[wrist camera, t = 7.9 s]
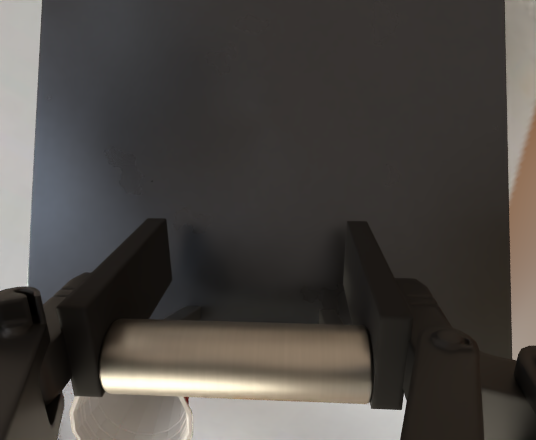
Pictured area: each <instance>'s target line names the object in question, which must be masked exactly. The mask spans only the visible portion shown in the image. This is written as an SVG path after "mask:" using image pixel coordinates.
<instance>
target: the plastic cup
mask: <svg viewBox="0 0 536 440" xmlns="http://www.w3.org/2000/svg"><path fill="white" fill-rule="evenodd" d="M188 399H189V397H178V396H153V395H128V394H109V393H107V392H105V393H104V395H103V397H85V396H75V398H74V401H73V404H72V406H71V409H70V411H69V413H70V420H71V428H72V432H73V434H74V435H75V437H76V438H77V440H190V439H191V437H192V435H193V420H192V411H191V409H190V407H189V405H188Z"/></svg>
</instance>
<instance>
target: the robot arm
mask: <svg viewBox="0 0 536 440" xmlns="http://www.w3.org/2000/svg"><path fill="white" fill-rule="evenodd" d="M171 282H172V271H171V261H170V250H169V240H168V230H167V220H166V218H147V219H146V220H145V221H144V222H143V223H142V224H141V225H140V226H139V227H138V228H137V229H136V230H135V231H134V232H133V233H132V234H131V235H130V236H129V237H128V238H127V239H126V240H125V241H124V242H123V243H122V244H121V245H120V246H118V247H117V248H116V249H115V250H114V251H113V252H112V253H111V254H110V255H109V256H108V257H107V258H106V259H105V260H104V261H103V262H102V263H101V264H100V265H99V266H98V267H97V268H96V269H95V270H94V271H93V272H84V273H82V274H81V275H79V276H77V277H75V278H73V279H71V280H70V281H69V282H67V283H66V284H65V285H64V286H63V287H62V288H61V290H59V291H58V292H56V293H55V294H54V297H51V298H50V299H49V300H48V301H47V302H45V303H44V304H43V303H42V299H41V294H40V291H39V290H38V289H36V288H34V287H28V286H27V287H15V288H10V289H5V290H2V291H0V440H57V437H58V432H59V427H60V423H61V418H62V414H63V409H64V397H63V393H62V390H63V388H64V387H65V386H66V384H67V383H68V382H69V380H70V379H71V382H72V386H73V391H74V396H85V397H103V395H104V393H105V392H106V391H104V389H103V388H102V386H101V383H100V378H99V358H100V352H101V347H102V343H103V340H104V337H105V335H106V332H107V330H108V329H109V327H110V326H111V324H112V323H113V322H114V321H116V320H118V319H149V318H150V317H151V315H152V313H153V312H154V310H155V308H156V307H157V305H158V303H159V302H160V300H161V298H162V297H163V295H164V293H165V292H166V290H167V288H168V287H169V285H170V283H171ZM343 286H344V290H345V294H346V299H347V303H348V308H349V312H350V316H351V321H352V325H363V326H365V327H366V328H367V330H368V332H369V335H370V340H371V345H372V353H373V372H374V376H373V392H372V397H371V400H370V405H371V409H392V410H402V403H403V396H404V394H405V397H406V400H407V404H406V409H405V415H404V421H403V427H402V433H401V439H400V440H536V346H528V347H525V348H522V349H521V351H520V352H519V354H518V358H517V361H516V360H512V359H507V358H503V357H498V356H494V355H490V354H487V353H484V352H481V351H479V347H478V345H477V342H476V341H475V340H474V339H473V338H472V337H471V336H470V335H468V334H466V333H464V332H462V331H460V330H458V329H455V328H452V326H451V324H450V323H449V321H448V320H447V318H446V316H445V315H444V313H443V312H442V310H441V308H440V307H439V306H438V304H437V302H436V300H435V299H434V298H433V295H432V294H431V292H430V291H429V289H428V287H427V286H425V285H424V284H422V283H421V282H420V281H418V280H417V279H411V278H394V276H393V274H392V272H391V270H390V268H389V266H388V263H387V261H386V259H385V257H384V255H383V253H382V251H381V249H380V247H379V245H378V243H377V241H376V239H375V237H374V235H373V233H372V231H371V229H370V227H369V224H368V222H367V221H347V229H346V246H345V262H344V278H343Z"/></svg>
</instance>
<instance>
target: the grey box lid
mask: <svg viewBox="0 0 536 440" xmlns="http://www.w3.org/2000/svg"><path fill="white" fill-rule="evenodd" d="M147 218H166V220H167V230H168V240H169V250H170V261H171V271H172V282H171V283H170V285H169V287H168V288H167V290H166V292H165V293H164V295H163V297H162V298H161V300H160V302H159V303H158V305H157V307H156V308H155V310H154V312H153V313H152V315H151V317H150V318H149V319H118V320H116V321H114V322H113V323H112V324H111V326H110V327H109V329H108V330H107V332H106V335H105V337H104V340H103V343H102V347H101V352H100V358H99V378H100V383H101V386H102V388H103V389H104V391H106V392H107V393H109V394H128V395H153V396H178V397H203V398H228V399H253V400H278V401H303V402H328V403H353V404H367V403H369V402H370V400H371V397H372V392H373V376H374V372H373V353H372V345H371V340H370V335H369V332H368V330H367V328H366V327H365V326H363V325H352V321H351V316H350V312H349V308H348V303H347V299H346V294H345V290H344V286H343V278H344V262H345V246H346V229H347V221H367V222H368V224H369V227H370V229H371V231H372V233H373V235H374V237H375V239H376V241H377V243H378V245H379V247H380V249H381V251H382V253H383V255H384V257H385V259H386V261H387V263H388V266H389V268H390V270H391V272H392V274H393V276H394V278H411V279H417V280H418V281H420V282H421V283H422V284H424V285H425V286H427V287H428V289H429V291H430V292H431V294H432V295H433V298H434V299H435V300H436V302H437V304H438V306H439V307H440V308H441V310H442V312H443V313H444V315H445V316H446V318H447V320H448V321H449V323H450V324H451V326H452V328H455V329H458V330H460V331H462V332H464V333H466V334H468V335H470V336H471V337H472V338H473V339H474V340H475V341H476V342H477V345H478V347H479V351H481V352H484V353H487V354H490V355H494V356H498V357H503V358H507V359H512V331H511V330H512V329H511V286H510V285H511V283H510V236H509V189H508V142H507V95H506V49H505V2H504V0H42V15H41V34H40V53H39V72H38V91H37V110H36V129H35V148H34V167H33V186H32V205H31V224H30V243H29V262H28V281H27V286H28V287H34V288H36V289H38V290H39V291H40V294H41V299H42V303H43V304H44V303H45V302H47V301H48V300H49V299H50V298H51V297H54V294H55V293H56V292H58V291H59V290H61V288H62V287H63V286H64V285H65V284H66V283H67V282H69V281H70V280H71V279H73V278H75V277H77V276H79V275H81V274H82V273H84V272H93V271H94V270H95V269H96V268H97V267H98V266H99V265H100V264H101V263H102V262H103V261H104V260H105V259H106V258H107V257H108V256H109V255H110V254H111V253H112V252H113V251H114V250H115V249H116V248H117V247H118V246H120V245H121V244H122V243H123V242H124V241H125V240H126V239H127V238H128V237H129V236H130V235H131V234H132V233H133V232H134V231H135V230H136V229H137V228H138V227H139V226H140V225H141V224H142V223H143V222H144V221H145V220H146V219H147Z"/></svg>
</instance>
